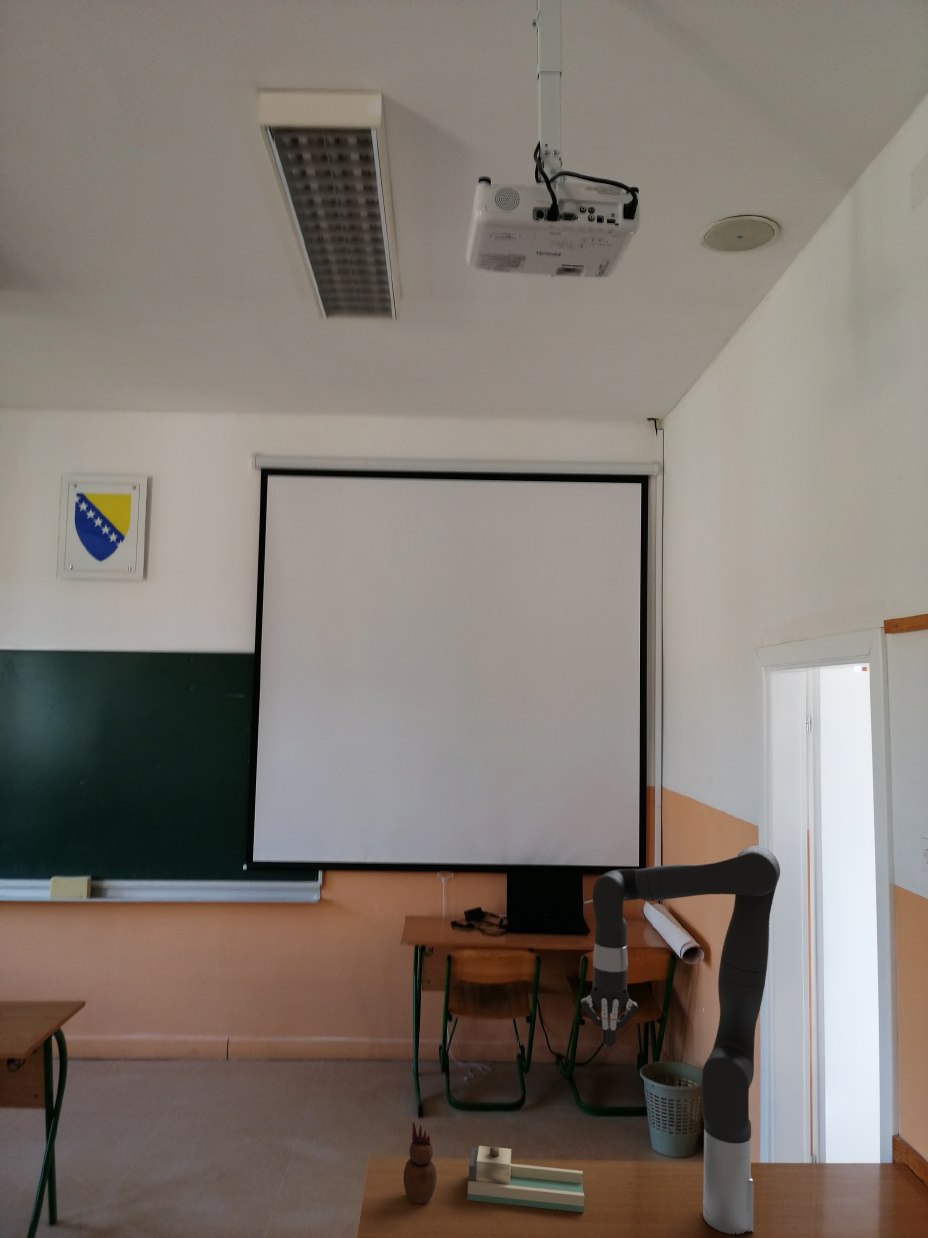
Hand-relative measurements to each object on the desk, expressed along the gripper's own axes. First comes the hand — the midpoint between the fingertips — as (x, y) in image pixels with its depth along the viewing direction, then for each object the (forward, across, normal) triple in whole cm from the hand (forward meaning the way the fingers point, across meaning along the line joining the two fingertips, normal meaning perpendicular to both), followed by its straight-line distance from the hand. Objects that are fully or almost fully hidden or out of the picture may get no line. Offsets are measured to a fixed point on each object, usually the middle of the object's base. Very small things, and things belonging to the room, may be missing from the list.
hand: (608, 1046), depth 181 cm
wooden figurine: (+29, +39, +12) cm, 50 cm away
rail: (+29, +17, +6) cm, 34 cm away
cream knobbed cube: (+28, +24, +6) cm, 37 cm away
